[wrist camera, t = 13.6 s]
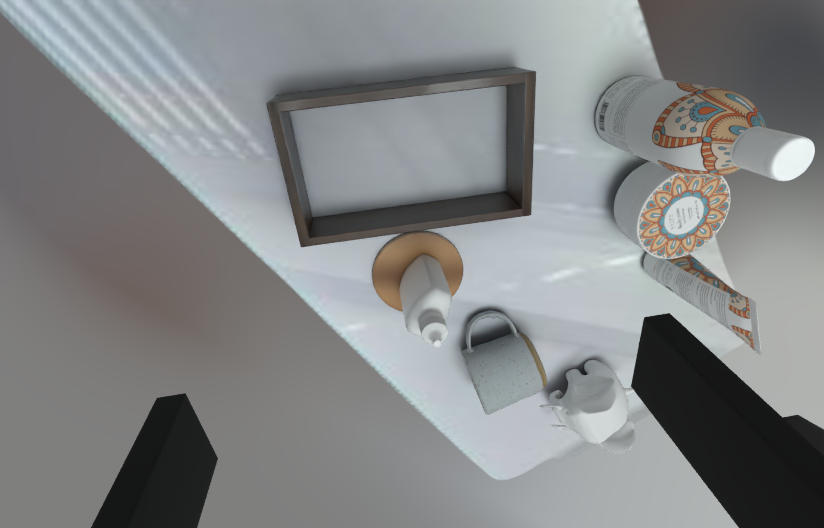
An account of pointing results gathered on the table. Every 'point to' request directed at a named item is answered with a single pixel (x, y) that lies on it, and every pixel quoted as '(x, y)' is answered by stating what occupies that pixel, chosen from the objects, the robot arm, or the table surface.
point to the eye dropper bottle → (425, 299)
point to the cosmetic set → (691, 180)
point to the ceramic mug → (503, 366)
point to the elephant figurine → (595, 407)
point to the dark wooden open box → (422, 214)
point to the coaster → (404, 252)
